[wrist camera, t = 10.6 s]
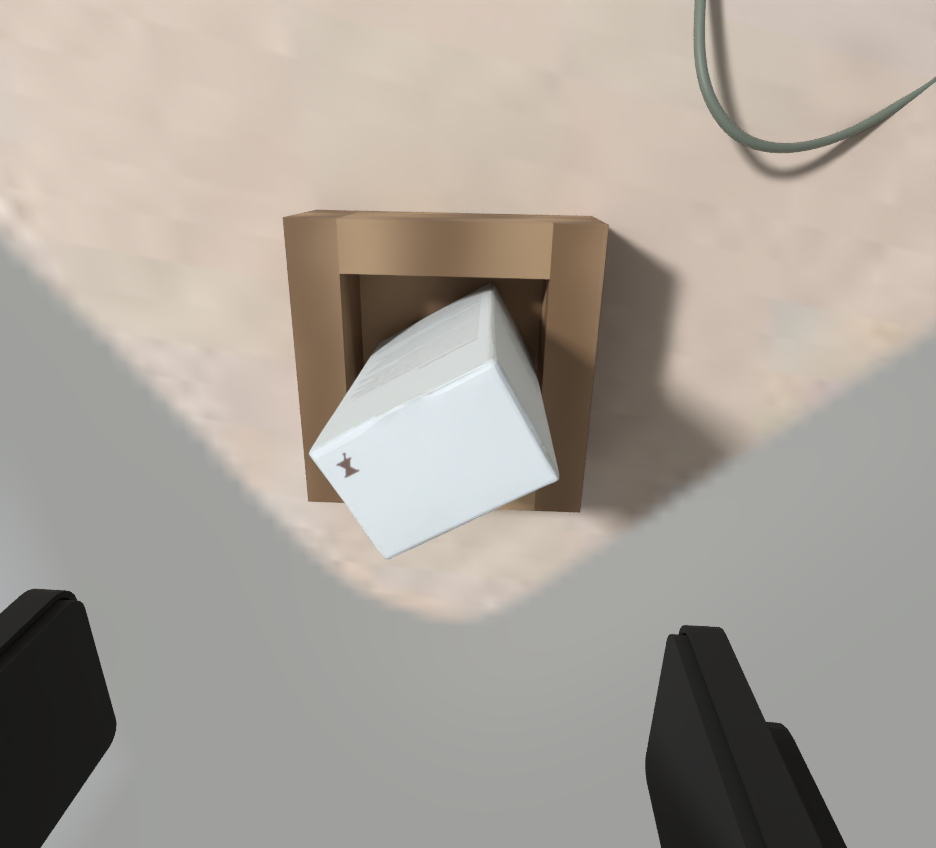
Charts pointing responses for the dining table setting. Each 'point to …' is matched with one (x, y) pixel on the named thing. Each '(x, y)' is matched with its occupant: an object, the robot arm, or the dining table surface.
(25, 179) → the dining table surface
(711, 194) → the dining table surface
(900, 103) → the loop
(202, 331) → the dining table surface
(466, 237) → the holder
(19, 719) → the robot arm
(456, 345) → the skincare box
